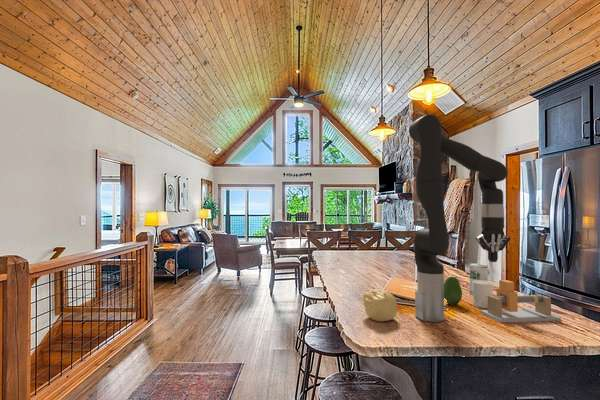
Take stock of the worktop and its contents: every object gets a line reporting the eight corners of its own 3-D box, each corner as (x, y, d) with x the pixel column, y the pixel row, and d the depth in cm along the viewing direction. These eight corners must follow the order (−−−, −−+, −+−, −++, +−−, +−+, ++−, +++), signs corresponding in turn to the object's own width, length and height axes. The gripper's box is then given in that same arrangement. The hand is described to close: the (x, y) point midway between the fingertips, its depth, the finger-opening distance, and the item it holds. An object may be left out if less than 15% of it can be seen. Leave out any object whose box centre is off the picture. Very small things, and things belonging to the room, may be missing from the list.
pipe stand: (500, 322, 118) (499, 300, 118) (480, 312, 128) (480, 292, 129) (560, 320, 120) (560, 298, 120) (536, 311, 131) (535, 291, 131)
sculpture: (358, 315, 125) (358, 286, 125) (387, 312, 128) (387, 285, 128) (372, 325, 114) (372, 294, 114) (403, 322, 117) (403, 292, 117)
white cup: (496, 309, 133) (496, 284, 133) (475, 308, 135) (475, 283, 135) (489, 303, 141) (489, 280, 141) (469, 302, 142) (469, 279, 143)
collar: (510, 311, 120) (509, 283, 120) (496, 306, 127) (496, 279, 127) (517, 311, 120) (517, 283, 121) (503, 306, 127) (503, 279, 128)
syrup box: (468, 293, 157) (468, 263, 158) (478, 292, 159) (478, 263, 160) (478, 296, 152) (478, 265, 152) (488, 295, 154) (488, 264, 154)
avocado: (465, 304, 139) (465, 276, 139) (456, 308, 134) (456, 279, 134) (446, 300, 145) (446, 273, 145) (438, 304, 140) (438, 275, 140)
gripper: (482, 216, 120) (483, 263, 119) (516, 216, 121) (516, 263, 121) (470, 215, 127) (470, 260, 127) (501, 215, 129) (502, 260, 128)
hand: (493, 261), depth 124 cm, fingers closed
